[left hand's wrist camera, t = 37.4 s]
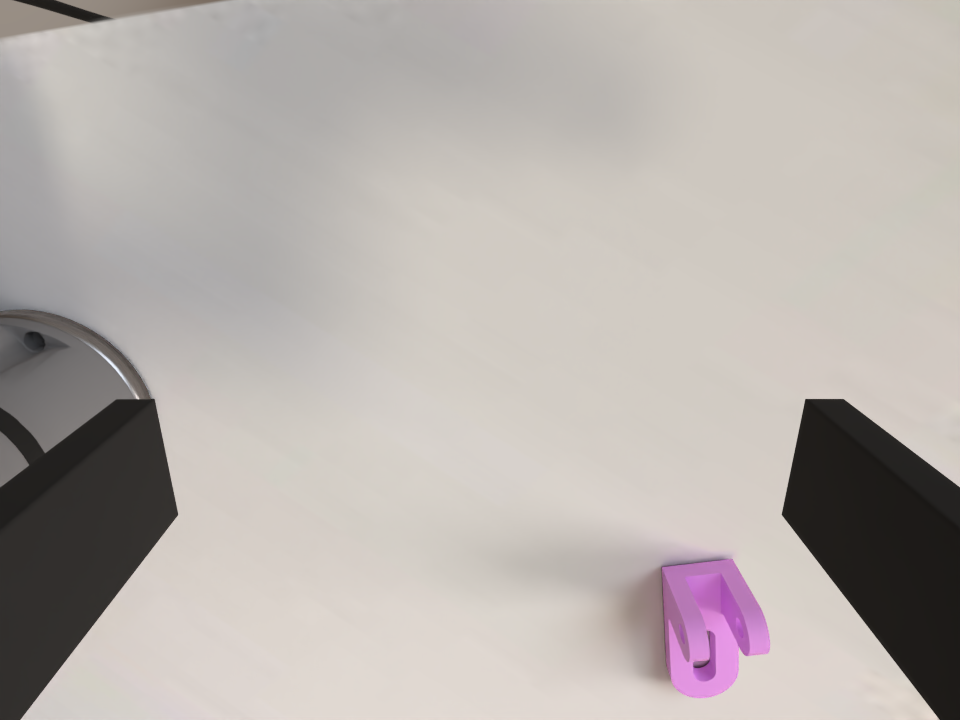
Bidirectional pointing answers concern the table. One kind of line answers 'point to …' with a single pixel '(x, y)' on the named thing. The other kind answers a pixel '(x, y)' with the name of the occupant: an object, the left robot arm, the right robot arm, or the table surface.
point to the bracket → (709, 625)
